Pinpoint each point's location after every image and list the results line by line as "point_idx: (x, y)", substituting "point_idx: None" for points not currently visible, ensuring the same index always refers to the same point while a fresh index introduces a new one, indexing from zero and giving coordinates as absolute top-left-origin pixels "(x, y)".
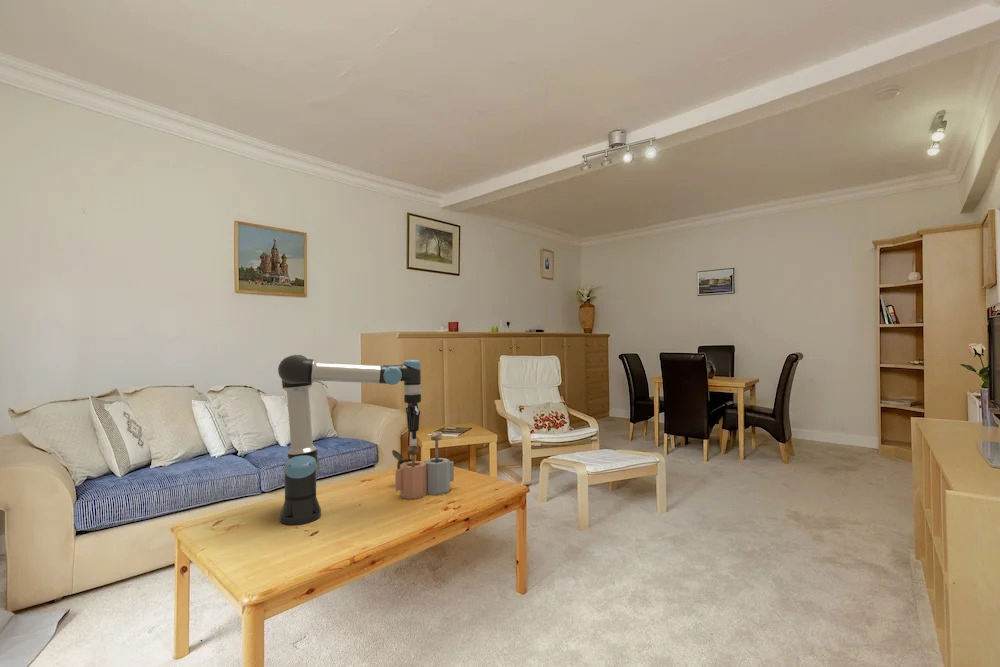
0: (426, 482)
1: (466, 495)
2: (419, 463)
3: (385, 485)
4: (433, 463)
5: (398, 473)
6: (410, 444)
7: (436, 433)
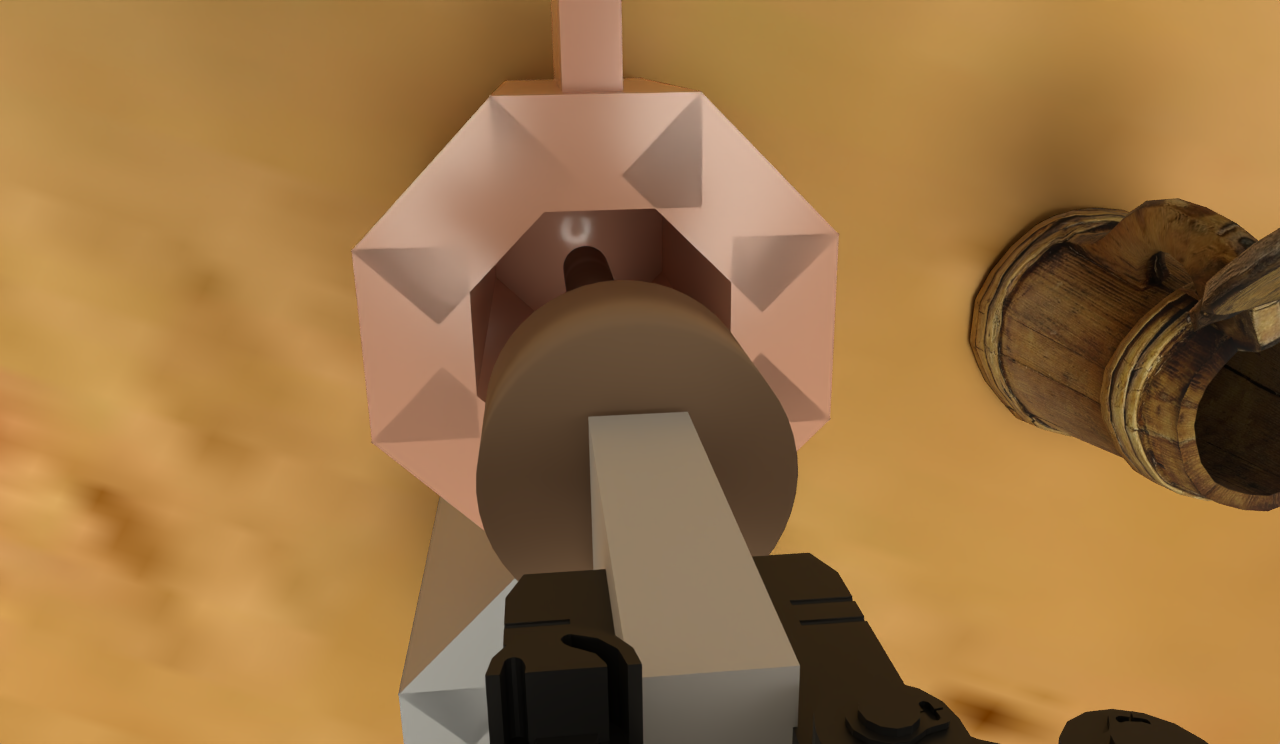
0: None
1: (281, 727)
2: None
3: (1167, 40)
4: (468, 659)
5: (558, 17)
6: (645, 432)
7: None
